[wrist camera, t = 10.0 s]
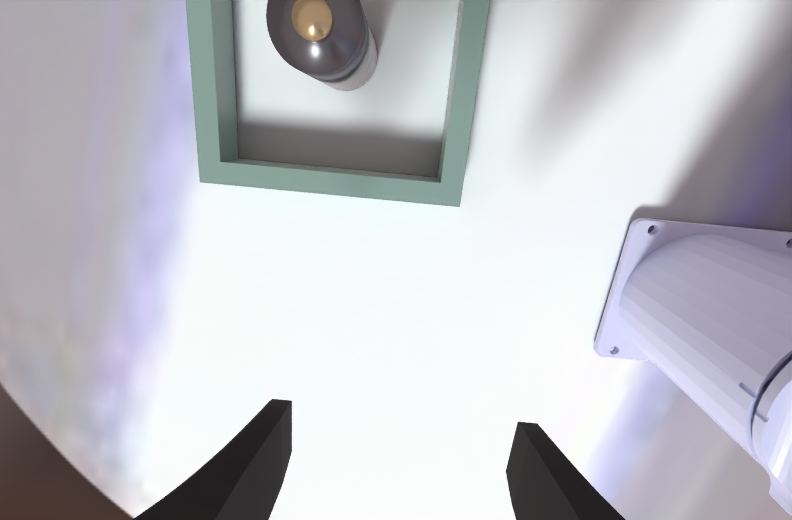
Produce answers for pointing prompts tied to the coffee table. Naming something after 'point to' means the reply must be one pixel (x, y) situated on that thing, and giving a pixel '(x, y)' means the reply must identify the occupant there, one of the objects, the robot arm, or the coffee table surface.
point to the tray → (223, 166)
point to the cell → (324, 40)
